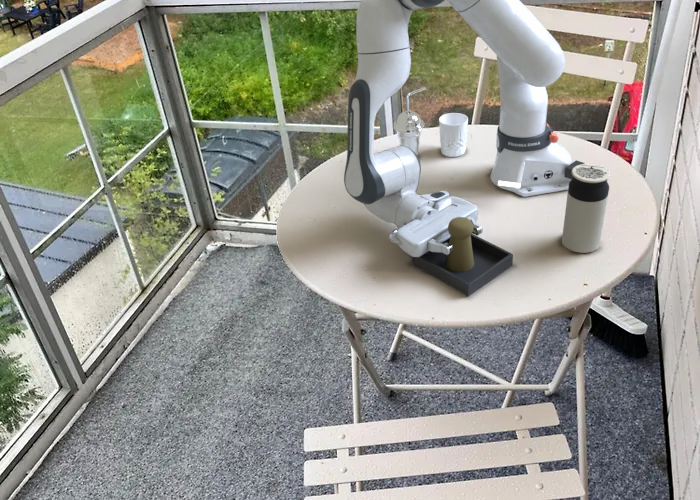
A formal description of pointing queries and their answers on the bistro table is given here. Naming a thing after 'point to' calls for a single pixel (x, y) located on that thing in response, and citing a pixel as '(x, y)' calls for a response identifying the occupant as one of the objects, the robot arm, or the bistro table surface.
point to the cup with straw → (409, 126)
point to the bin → (485, 269)
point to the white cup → (453, 134)
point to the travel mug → (585, 208)
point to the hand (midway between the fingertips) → (465, 240)
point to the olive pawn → (460, 245)
